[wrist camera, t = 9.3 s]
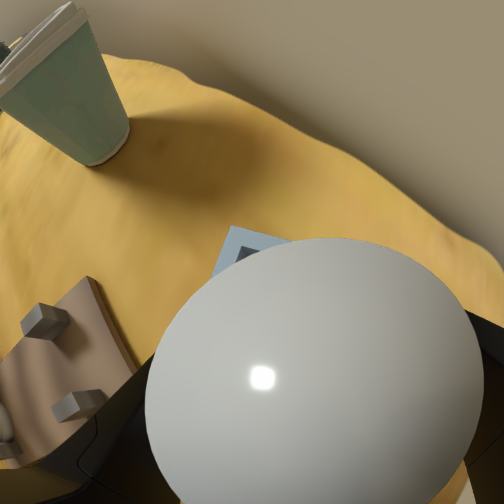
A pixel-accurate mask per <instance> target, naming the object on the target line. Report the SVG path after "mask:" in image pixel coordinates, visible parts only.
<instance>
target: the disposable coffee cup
mask: <svg viewBox="0 0 504 504" xmlns="http://www.w3.org/2000/svg"><path fill="white" fill-rule="evenodd" d="M89 18H90V15H89V14H87V12H86V11H85V9H84V8H79V9H77V8H76V6H75V5H74V3H73V2H72V1H71V2H68V3H67V4H65V5H63V6H61V7H60V8H59V9H57V10H56V11H55V12H53V13H52V14H51V15H50V16H49V17H48V18H46V19H45V20H44V21H43V22H42V23H40V24H39V25H38V26H37V27H36V28H35V29H34V30H33V31H32V32H31V33H30V34H29V35H28V36H27V37H26V38H25V39H24V40H23V41H22V42H21V43H20V44H19V45H18V46H17V47H16V48H15V49H14V50H13V51H12V52H11V53H10V54H9V56H8V57H7V58H6V59H5V60H4V61H3V63H2V64H1V65H0V109H2V110H3V111H4V112H6V113H7V114H9V115H10V116H11V117H13V118H14V119H16V120H17V121H19V122H20V123H21V124H23V125H24V126H26V127H27V128H29V129H30V130H32V131H33V132H34V133H36V134H37V135H39V136H40V137H42V138H43V139H45V140H46V141H47V142H49V143H50V144H52V145H53V146H55V147H56V148H58V149H59V150H61V151H62V152H64V153H65V154H67V155H68V156H70V157H71V158H73V159H74V160H76V161H77V162H79V163H81V164H83V165H88V166H90V167H91V166H94V165H98V164H102V163H103V162H105V161H106V160H108V159H109V158H110V157H112V156H113V155H115V154H116V153H117V151H118V150H119V149H120V148H121V147H122V145H123V144H124V143H125V142H126V140H127V137H128V134H129V132H130V127H129V123H130V122H129V120H128V117H127V114H126V112H125V109H124V107H123V105H122V103H121V100H120V98H119V96H118V94H117V91H116V89H115V87H114V84H113V82H112V80H111V77H110V75H109V73H108V70H107V68H106V65H105V63H104V60H103V58H102V56H101V53H100V51H99V48H98V46H97V43H96V41H95V38H94V35H93V33H92V30H91V27H90V25H89V22H88V19H89Z"/></svg>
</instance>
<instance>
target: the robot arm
mask: <svg viewBox="0 0 504 504" xmlns="http://www.w3.org/2000/svg"><path fill="white" fill-rule="evenodd" d="M464 310H465V309H464ZM465 312H466V314H467V315H468V318H469V320H470V322H471V324H472V326H473V329H474V331H475V333H476V337H477V340H478V344H479V347H480V351H481V357H482V364H483V371H484V392H483V400H482V407H481V413H480V417H479V421H478V425H477V428H476V432H475V434H474V437H473V439H472V442H471V444H470V446H469V449H468V451H467V453H466V455H465V456H464V458H463V459H464V463H465V466H466V468H467V472H468V476H469V479H470V482H471V486H472V489H473V493H474V497H475V501H476V504H504V328H502V327H500V326H498V325H496V324H494V323H492V322H490V321H488V320H486V319H484V318H482V317H479V316H477V315H475V314H473V313H471V312H469V311H467V310H465ZM154 355H155V353H154V354H153V355H152V356H151V357H150V358H149V359H148V360H147V361H146V362H145V363H144V364H143V365H142V366H141V367H140V368H139V369H138V370H137V371H136V372H135V373H134V374H133V375H132V376H131V377H130V378H129V379H128V380H127V381H126V382H125V383H124V384H123V385H122V386H121V387H120V388H119V389H118V390H117V391H116V392H115V393H114V394H113V395H112V396H111V397H110V398H109V399H108V400H107V401H106V402H105V403H104V404H103V405H102V406H101V407H100V408H99V409H98V410H97V411H96V414H93V415H92V416H91V417H90V418H89V419H88V420H87V421H86V422H85V423H84V424H83V425H82V426H81V427H80V428H79V429H78V430H77V431H76V432H75V433H73V434H72V435H71V436H70V437H69V438H68V439H67V440H65V441H64V442H63V443H62V444H61V445H59V446H58V447H57V448H56V449H54V450H53V451H52V452H51V453H50V454H48V455H47V456H46V457H45V458H43V459H42V460H41V461H39V462H38V463H36V464H35V465H32V466H30V467H26V468H18V469H0V504H180V501H181V500H180V498H179V497H178V496H177V495H176V494H175V492H174V491H173V490H172V489H171V487H170V486H169V484H168V483H167V481H166V479H165V478H164V476H163V474H162V473H161V471H160V469H159V467H158V464H157V462H156V460H155V457H154V455H153V452H152V449H151V445H150V441H149V438H148V433H147V427H146V417H145V396H146V387H147V381H148V376H149V370H150V367H151V364H152V361H153V358H154Z"/></svg>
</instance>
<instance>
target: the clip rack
mask: <svg viewBox="0 0 504 504" xmlns="http://www.w3.org/2000/svg"><path fill="white" fill-rule="evenodd" d="M20 323H21V327H22V331H23V334H24V337H23V338H22V339H21V340H20V341H19V342H18V344H17V345H16V346H15V347H14V348H13V349H12V350H11V351H10V352H9V354H8V355H7V356H6V357H5V358H4V359H3V360H2V362H1V363H0V401H1V402H2V403H3V404H4V405H5V407H6V408H7V410H8V412H9V414H10V417H11V419H12V423H13V427H14V440H13V441H12V442H9V443H1V444H0V460H5V461H6V463H7V465H8V467H9V469H18V468H22V467H24V466H27V465H29V464H31V463H33V462H36V461H38V460H40V459H42V458H44V457H46V456H47V455H48V454H50V453H51V452H52V451H53V450H54V449H56V448H57V447H58V446H59V445H61V444H62V443H63V442H64V441H65V440H67V439H68V438H69V437H70V436H71V435H72V434H73V433H75V432H76V431H77V430H78V429H79V428H80V427H81V426H82V425H83V424H84V423H85V422H86V421H87V420H88V419H89V418H90V417H91V416H92V415H93V414H96V411H97V410H98V409H99V408H100V407H101V406H102V405H103V404H104V403H105V402H106V401H107V400H108V399H109V398H110V397H111V396H112V395H113V394H114V393H115V392H116V391H117V390H118V389H119V388H120V387H121V386H122V385H123V384H124V383H125V382H126V381H127V380H128V379H129V378H130V377H131V376H132V375H133V374H134V373H135V372H136V371H137V370H138V369H137V368H136V366H135V364H134V362H133V360H132V359H131V357H130V355H129V353H128V351H127V349H126V347H125V346H124V344H123V342H122V340H121V338H120V336H119V334H118V332H117V330H116V328H115V326H114V323H113V321H112V319H111V317H110V315H109V313H108V311H107V308H106V306H105V304H104V302H103V299H102V297H101V295H100V292H99V290H98V288H97V285H96V283H95V280H94V279H93V278H91V277H88V276H85V277H84V278H83V279H82V280H81V281H80V282H79V283H77V284H76V285H75V286H74V287H73V288H72V289H71V290H70V291H69V292H68V293H67V294H66V295H65V296H64V297H63V298H61V299H60V300H59V301H58V302H57V303H56V304H55V305H54V306H49V305H46V304H42V303H39V302H38V303H37V305H36V306H35V307H34V308H33V309H32V310H31V311H30V312H29V313H28V314H27V315H26V316H25V318H24V319H23V320H22V321H21V322H20Z"/></svg>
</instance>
